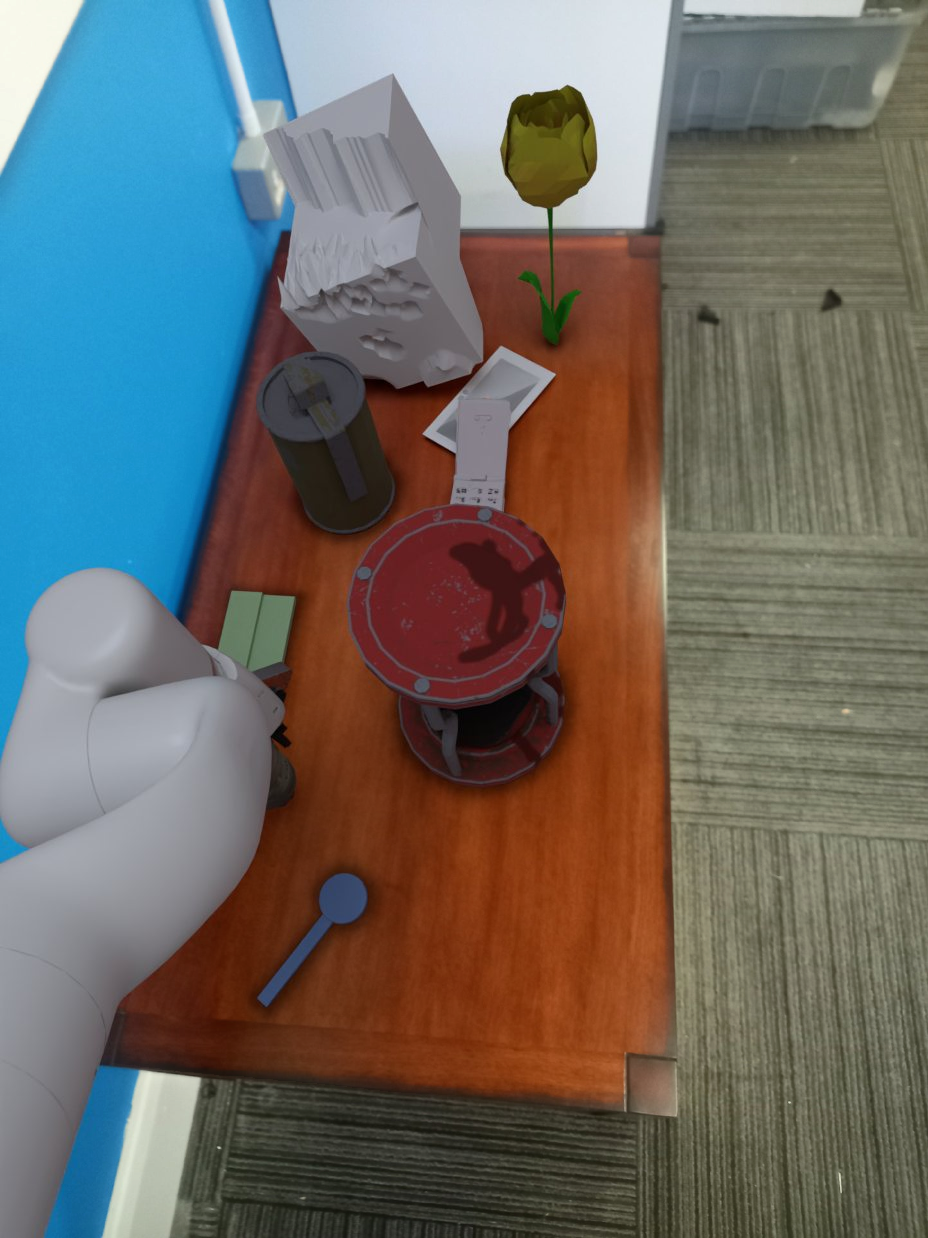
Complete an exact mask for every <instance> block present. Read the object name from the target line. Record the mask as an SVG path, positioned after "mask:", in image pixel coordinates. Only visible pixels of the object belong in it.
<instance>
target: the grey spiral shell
mask: <svg viewBox="0 0 928 1238" xmlns="http://www.w3.org/2000/svg"><path fill="white" fill-rule="evenodd" d="M270 738H271V737H270ZM271 748H272V760H271V779H270V787H269V793H268V799H267V805H266V810H265V811H271V810H275V809H277V808H283V807H286V806H287V805H288V803H289V802H290V801H291V800H292V799H294V796H295V793H296V788H297V773H296V769H295V767H294V766H293V764H292V761H290V759H289V758H288V757H287V756H286V755H285V754H284V753H283V752H282V751H280V749H279V748H278V746H277V745H276V743H275V740H274V739H273V738H271Z"/></svg>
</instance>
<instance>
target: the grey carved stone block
mask: <svg viewBox="0 0 928 1238" xmlns="http://www.w3.org/2000/svg"><path fill="white" fill-rule="evenodd" d="M262 136H263V139H264V141H265V143H266V146H267V148H268V151H269V152H270V154H271V155H270V156H271V157H272V159H273V161H274V163H275V165H276V168H277V170H278V172H279V175H280V176H281V179H282V181H283V183H284V185H285V188H286V190H287V192H288V195H289V196H290V200H291V201H292V203H293V206H294V211H293V212H294V213H293V219H292V225H291V231H290V240H289V247H288V255H287V257H286V261H287V263H286V268H285V273H284V278H283V279H284V280H283V282H282V280H281V279H280V277H279V276H278V275H277V281H278V287H279V292H280V299H281V300H280V307H279V309H280V310H281V311H282V312H284V314H285V316H287V318H288V319H289V320H290V321H291V322H292V324H293V325H294V326H295V327H296V328H297V329H298V330H299V332H300V333H301V334H302V335H303V336H304V337H305V339H306V340H307V341H308V342H309V343H310V345H312V347H313V348H314V349H315V351H321V352H330V353H334V354H338V355H340V356H342V357H344V358H346V359H348V360H349V361H350V362H352V363H353V364H354V365H355V366H356V367H357V368H358V370H359V371H360V373H361V375H362V377H363V380H365V379H366V380H380V381H381V380H384V381H386V382H387V383H389V384H391V385H392V386H393V387H394V388H395V389H396V390H398V389H403V388H405V387H409V386H412V385H415V384H418V383H422V382H424V384H425V386H426V387H427V388H430V387H433V386H437V385H439V384H443V383H446V382H449V381H451V380H455V379H458V378H462V377H466V376H469V375H471V374H472V372H473V368H475V366H476V365H478V364H481V363H483V362H484V329H483V323H482V320H481V317H480V313H479V311H478V307H477V305H476V302H475V298H474V296H473V294H472V291H471V290H472V289H471V288H470V284H469V282H468V278H467V276H466V273H465V270H464V267H463V264H462V261H461V258H460V255H461V254H460V253H461V214H462V213H461V212H462V195H461V193H460V192H459V190H458V187H457V186H456V185H455V182H454V181H453V179H452V177H451V175H450V173H449V171H448V170H447V168H446V166H445V164H444V163H443V161H442V159H441V157H440V156H439V154H438V152H437V150H436V148H435V146H434V145H433V142H432V141H431V139H430V138H429V136H428V133H427V132H426V130H425V128H424V127H423V125H422V123H421V121H420V120H419V118H418V115H417V114H416V111H414V108H413V106H412V105H411V103H410V101H409V99H408V97H407V95H406V94H405V92H404V90H403V89H402V87H401V85H400V83H399V81H398V79H397V78H396V76H395V74H394V73H390V74H387V75H386V76H384V77H381V78H379V79H377V80H375V81H373V82H371V83H368V84H367V85H365V86H362V87H359V88H358V89H356V90H354V91H351V92H350V93H347V94H346V95H343V96H342V97H339V98H337V99H334V100H332V101H331V102H328V103H326V104H323V105H321V106H320V107H318V108H315V109H313V110H310V111H309V112H307V113H305V114H303V115H301V116H299V117H296V118H294V119H293V120H290V121H288V122H286V123H284V124H283V123H282V124H281V125H279V126H277V127H275V128H272V129H271V130H269V131H266V132H265V133H263V135H262Z"/></svg>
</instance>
